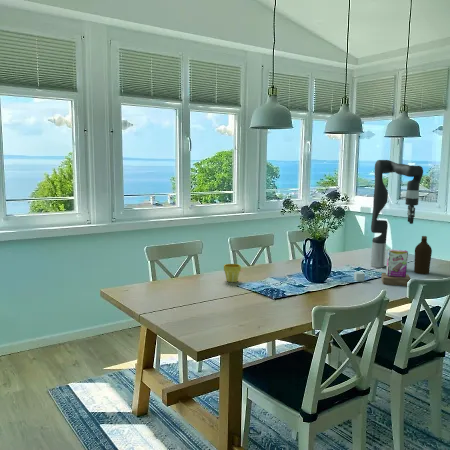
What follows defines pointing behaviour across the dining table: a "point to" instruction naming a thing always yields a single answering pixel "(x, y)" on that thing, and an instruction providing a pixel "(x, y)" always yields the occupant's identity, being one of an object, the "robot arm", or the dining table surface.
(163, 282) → the dining table surface
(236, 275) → the plant pot
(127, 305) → the dining table surface
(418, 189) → the robot arm
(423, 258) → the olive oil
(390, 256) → the candy bar box
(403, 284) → the walnut plinth
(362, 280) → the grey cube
